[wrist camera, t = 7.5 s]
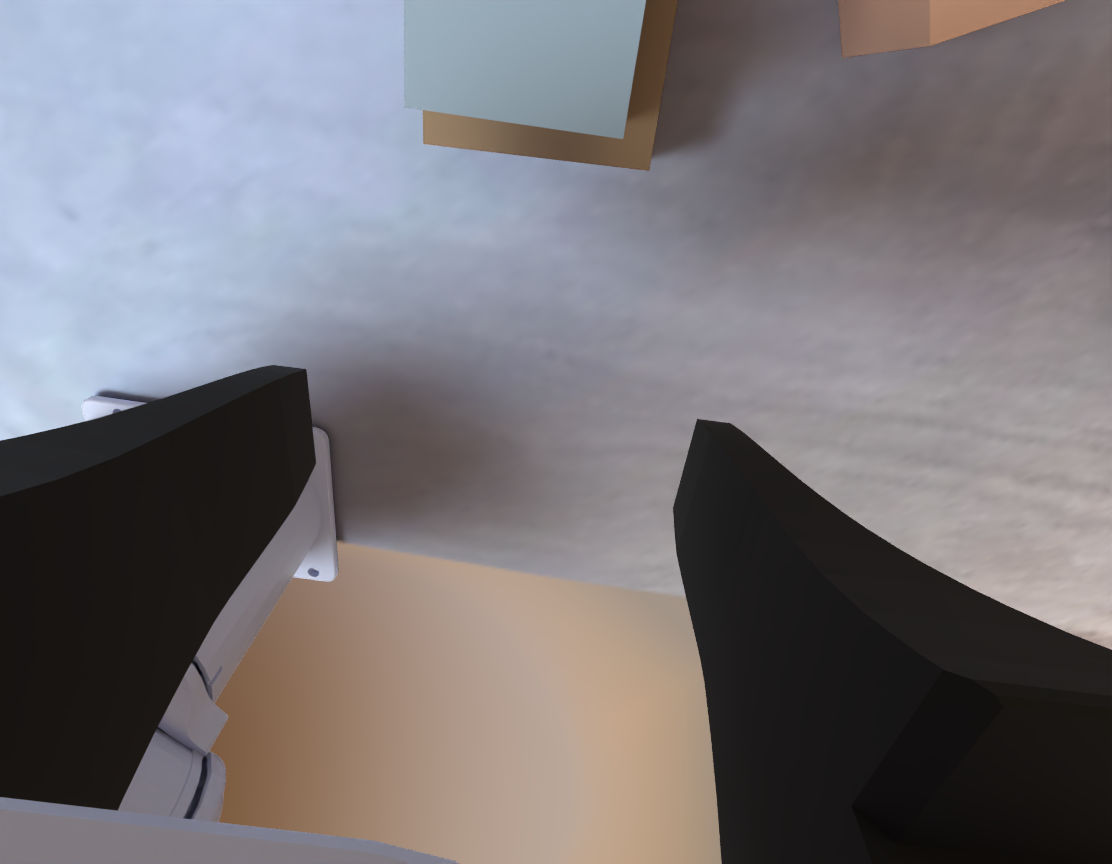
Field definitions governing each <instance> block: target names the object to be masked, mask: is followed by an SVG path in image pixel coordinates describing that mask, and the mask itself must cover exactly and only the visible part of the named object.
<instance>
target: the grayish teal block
mask: <svg viewBox="0 0 1112 864" xmlns="http://www.w3.org/2000/svg"><path fill="white" fill-rule="evenodd" d="M645 4H646V0H404V47H405V108H412V109H419V110H426V111H433V112H440V113H446V114H453V115H460V116H467V117H474V118H481V119H488V120H495V121H501V122H508V123H515V124H522V125H529V126H536V127H543V128H550V129H556V130H563V131H570V132H577V133H584V134H591V135H598V136H605V137H611V138H618V139H623V137H624V131H625V125H626V119H627V113H628V107H629V101H630V95H631V89H632V82H633V76H634V70H635V64H636V58H637V52H638V46H639V40H640V34H641V28H642V22H643V16H644V10H645Z"/></svg>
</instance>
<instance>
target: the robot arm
mask: <svg viewBox="0 0 1112 864" xmlns="http://www.w3.org/2000/svg"><path fill="white" fill-rule="evenodd" d="M81 408H82V412H83V415H84V418H85V422H81V423H77V424H73V425H69V426H65V427H61V428H57V429H52V430H48V431H43V432H39V433H35V434H30V435H26V436H21V437H17V438H12V439H7V440H2V441H0V864H458V863H457V862H455V861H453V860H449V859H445V858H441V857H437V856H433V855H429V854H425V853H421V852H417V851H413V850H409V849H405V848H401V847H397V846H393V845H389V844H385V843H381V842H377V841H373V840H364V839H355V838H348V837H338V836H330V835H321V834H313V833H305V832H296V831H287V830H279V829H270V828H262V827H253V826H245V825H236V824H227V823H219V819H220V816H221V811H222V807H223V806H222V805H223V793H224V788H225V780H226V769H225V765H224V762H223V761H222V760H221V759H220V757H219V756H218V755H216V754H214V753H212V752H210V751H209V750H210V749H211V747H212V745H213V743H214V742H215V740H216V738H217V737H218V735H219V733H220V731H221V730H222V728H223V726H224V725H225V723H226V721H227V719H228V715H227V714H226V713H225V712H223V711H222V710H221V709H219V708H218V707H217V706H216V705H215V704H214V703H215V701H216V700H217V698H218V696H219V695H220V693H221V692H222V690H223V688H224V687H225V685H226V684H227V682H228V680H229V678H230V677H231V676H232V674H233V672H234V671H235V669H236V667H237V666H238V664H239V663H240V661H241V660H242V658H243V656H244V655H245V653H246V651H247V650H248V648H249V647H250V645H251V643H252V642H253V640H254V639H255V637H256V635H257V634H258V632H259V630H260V629H261V627H262V626H263V624H264V622H265V621H266V619H267V618H268V616H269V614H270V613H271V611H272V609H273V608H274V606H275V604H276V603H277V602H278V600H279V598H280V597H281V595H282V593H283V592H284V590H285V588H286V587H287V585H288V584H289V582H290V580H291V579H292V577H297V578H305V579H312V580H319V581H332V580H334V579H335V578H336V576H337V574H338V557H337V543H336V529H335V516H334V502H333V489H332V475H331V462H330V448H329V439H328V436H327V434H326V433H325V432H324V431H323V430H321V429H319V428H316V427H312V419H311V409H310V400H309V390H308V381H307V372H306V369H300V368H292V367H284V366H276V365H271V366H265V367H260V368H256V369H253V370H249V371H245V372H242V373H239V374H236V375H232V376H229V377H226V378H223V379H220V380H217V381H214V382H211V383H208V384H205V385H202V386H199V387H196V388H193V389H190V390H187V391H184V392H181V393H178V394H175V395H172V396H169V397H166V398H163V399H159V400H156V401H153V402H150V403H143V402H136V401H129V400H122V399H115V398H108V397H101V396H91V397H89V398H88V399H86V400H84V401H83V402H82V404H81ZM120 410H122V411H120ZM673 514H674V529H675V541H676V552H677V557H678V562H679V567H680V571H681V576H682V580H683V585H684V589H685V594H686V598H687V602H688V607H689V611H690V615H691V620H692V624H693V629H694V632H695V637H696V641H697V646H698V650H699V655H700V659H701V665H702V670H703V676H704V681H705V690H706V697H707V707H708V715H709V724H710V732H711V742H712V752H713V762H714V773H715V783H716V794H717V806H718V820H719V833H720V846H721V860H722V864H1112V650H1111V649H1108V648H1106V647H1103V646H1100V645H1098V644H1095V643H1093V642H1090V641H1087V640H1085V639H1082V638H1080V637H1077V636H1075V635H1072V634H1070V633H1067V632H1065V631H1063V630H1060V629H1058V628H1056V627H1054V626H1051V625H1049V624H1047V623H1045V622H1042V621H1040V620H1038V619H1036V618H1033V617H1031V616H1029V615H1027V614H1024V613H1022V612H1020V611H1018V610H1015V609H1013V608H1011V607H1009V606H1006V605H1004V604H1002V603H1000V602H998V601H996V600H994V599H992V598H990V597H988V596H986V595H984V594H982V593H979V592H977V591H975V590H973V589H971V588H969V587H967V586H966V585H964V584H962V583H960V582H958V581H956V580H954V579H952V578H950V577H949V576H947V575H945V574H943V573H941V572H939V571H937V570H935V569H933V568H932V567H930V566H928V565H926V564H924V563H922V562H921V561H919V560H917V559H915V558H914V557H912V556H910V555H908V554H907V553H905V552H903V551H902V550H900V549H898V548H897V547H895V546H894V545H892V544H890V543H889V542H887V541H886V540H884V539H882V538H881V537H879V536H878V535H876V534H874V533H873V532H871V531H870V530H868V529H866V528H865V527H863V526H862V525H860V524H859V523H858V522H856V521H855V520H853V519H852V518H850V517H849V516H847V515H846V514H845V513H843V512H842V511H840V510H839V509H838V508H836V507H835V506H834V505H832V504H831V503H830V502H828V501H827V500H826V499H824V498H823V497H821V496H820V495H819V494H817V493H816V492H815V491H814V490H812V489H811V488H810V487H809V486H807V485H806V484H805V483H803V482H802V481H801V480H800V479H799V478H797V477H796V476H795V475H794V474H792V473H791V472H790V471H789V470H788V469H786V468H785V467H784V466H783V465H782V464H780V463H779V462H778V461H777V460H776V459H774V458H773V457H772V456H771V455H770V454H769V453H767V452H766V451H765V450H764V449H763V448H761V447H760V446H759V445H758V444H757V443H756V442H754V441H753V440H752V439H751V438H749V437H748V436H747V435H746V434H745V433H743V432H742V431H741V430H739V429H738V428H737V427H735V426H734V425H732V424H730V423H724V422H716V421H708V420H700V419H697V422H696V425H695V429H694V433H693V437H692V440H691V444H690V448H689V451H688V455H687V459H686V462H685V466H684V470H683V473H682V477H681V481H680V484H679V488H678V492H677V495H676V499H675V503H674V507H673ZM313 568H314V569H316V570H314V569H313ZM317 570H318V571H317Z"/></svg>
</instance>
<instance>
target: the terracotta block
mask: <svg viewBox="0 0 1112 864" xmlns="http://www.w3.org/2000/svg"><path fill="white" fill-rule="evenodd" d="M1062 1H1065V0H838V4H839V19H840V34H841V50H842V58H845V57H852V56H860V55H867V54H875V53H882V52H890V51H897V50H904V49H912V48H919V47H927V46H932V45H935V44H938V43H941V42H944V41H947V40H950V39H952V38H955V37H958V36H961V35H964V34H967V33H970V32H973V31H976V30H979V29H982V28H985V27H988V26H991V25H994V24H997V23H1000V22H1003V21H1006V20H1009V19H1012V18H1015V17H1018V16H1021V15H1024V14H1027V13H1030V12H1033V11H1036V10H1039V9H1042V8H1045V7H1048V6H1051V5H1054V4H1057V3H1060V2H1062Z"/></svg>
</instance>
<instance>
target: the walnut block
mask: <svg viewBox="0 0 1112 864" xmlns="http://www.w3.org/2000/svg"><path fill="white" fill-rule="evenodd" d="M677 3H678V0H646V4H645V10H644V16H643V22H642V28H641V34H640V40H639V46H638V52H637V58H636V64H635V70H634V76H633V82H632V89H631V95H630V101H629V107H628V113H627V119H626V125H625V131H624V137H623V139H618V138H611V137H605V136H598V135H591V134H584V133H577V132H570V131H563V130H556V129H550V128H543V127H536V126H529V125H522V124H515V123H508V122H501V121H495V120H488V119H481V118H474V117H467V116H460V115H453V114H446V113H440V112H433V111H426V110H423V144H429V145H437V146H445V147H454V148H462V149H471V150H479V151H487V152H496V153H504V154H513V155H521V156H529V157H538V158H546V159H555V160H563V161H571V162H580V163H588V164H597V165H605V166H613V167H622V168H630V169H639V170H647V171H649V169H650V163H651V157H652V151H653V145H654V139H655V133H656V127H657V121H658V115H659V109H660V104H661V98H662V92H663V86H664V80H665V74H666V68H667V62H668V56H669V50H670V44H671V38H672V32H673V26H674V20H675V14H676V9H677Z"/></svg>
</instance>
